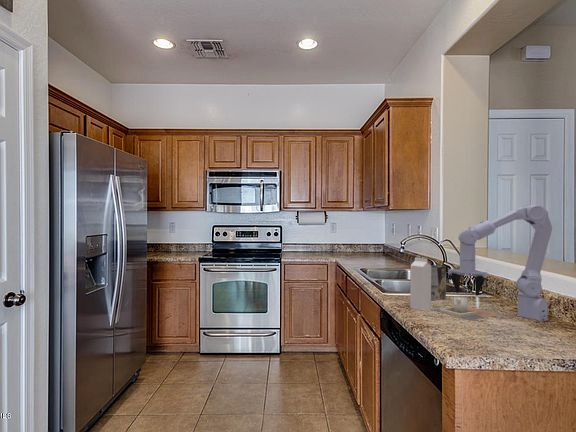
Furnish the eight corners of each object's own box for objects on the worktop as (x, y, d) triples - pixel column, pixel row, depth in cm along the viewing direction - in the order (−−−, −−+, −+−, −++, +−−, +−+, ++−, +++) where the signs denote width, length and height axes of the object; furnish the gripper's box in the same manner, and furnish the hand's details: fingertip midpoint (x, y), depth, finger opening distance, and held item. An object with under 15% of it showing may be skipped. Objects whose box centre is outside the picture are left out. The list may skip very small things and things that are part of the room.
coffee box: (439, 302, 178) (440, 267, 178) (425, 300, 182) (426, 266, 183) (446, 299, 186) (446, 265, 186) (432, 297, 190) (432, 264, 190)
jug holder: (501, 317, 153) (501, 311, 153) (469, 323, 144) (469, 317, 144) (461, 307, 169) (461, 302, 169) (430, 312, 160) (430, 306, 160)
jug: (464, 315, 150) (464, 300, 151) (451, 313, 154) (451, 298, 154) (471, 311, 158) (471, 296, 158) (458, 309, 161) (458, 294, 161)
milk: (422, 313, 158) (423, 259, 158) (409, 310, 163) (410, 257, 163) (431, 311, 162) (431, 258, 162) (418, 308, 167) (418, 256, 167)
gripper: (490, 260, 154) (490, 294, 154) (453, 257, 165) (453, 289, 165) (484, 261, 149) (483, 297, 149) (446, 259, 160) (446, 292, 160)
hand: (467, 293), depth 157 cm, fingers open, 7 cm apart
